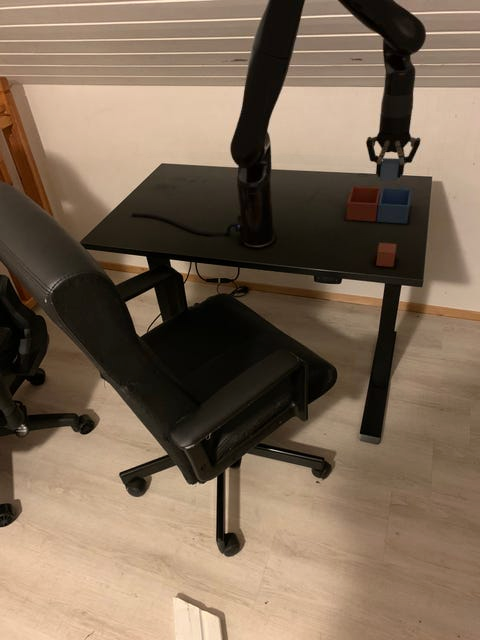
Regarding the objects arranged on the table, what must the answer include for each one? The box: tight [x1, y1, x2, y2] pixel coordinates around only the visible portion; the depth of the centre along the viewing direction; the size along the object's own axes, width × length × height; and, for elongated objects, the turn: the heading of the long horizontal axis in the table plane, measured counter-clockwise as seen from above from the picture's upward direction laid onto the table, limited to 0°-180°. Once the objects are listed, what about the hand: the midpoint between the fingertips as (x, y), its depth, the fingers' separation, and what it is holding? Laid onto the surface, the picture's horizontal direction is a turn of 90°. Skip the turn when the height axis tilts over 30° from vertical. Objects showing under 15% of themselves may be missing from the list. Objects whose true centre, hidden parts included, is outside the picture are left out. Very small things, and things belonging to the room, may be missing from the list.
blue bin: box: [376, 187, 412, 225], centre depth 141 cm, size 9×11×6 cm
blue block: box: [379, 157, 399, 182], centre depth 126 cm, size 4×4×4 cm
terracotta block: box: [375, 242, 397, 268], centre depth 123 cm, size 4×4×4 cm
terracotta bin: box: [345, 185, 382, 222], centre depth 143 cm, size 9×11×6 cm
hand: (389, 176), depth 127 cm, fingers closed on blue block, 4 cm apart
